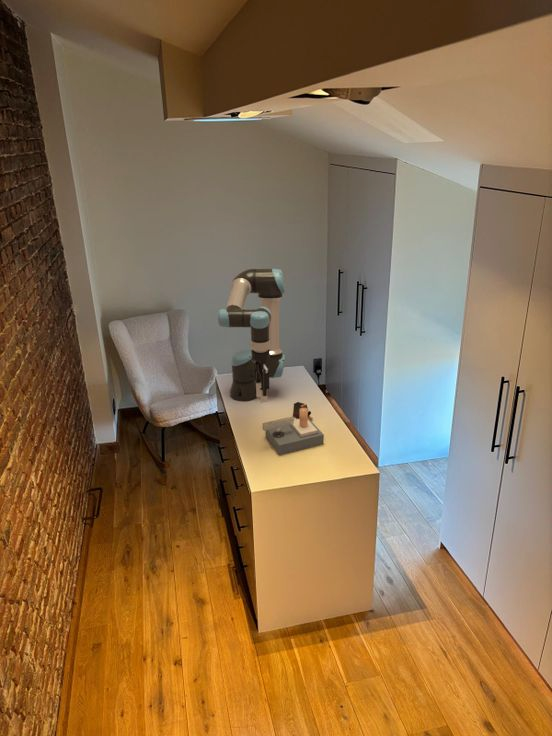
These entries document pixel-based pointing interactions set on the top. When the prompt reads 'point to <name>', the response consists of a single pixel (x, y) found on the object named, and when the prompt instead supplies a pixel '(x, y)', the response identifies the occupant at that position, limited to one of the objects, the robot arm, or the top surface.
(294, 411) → the electronic device
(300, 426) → the cover
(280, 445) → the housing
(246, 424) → the top surface
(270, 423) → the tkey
